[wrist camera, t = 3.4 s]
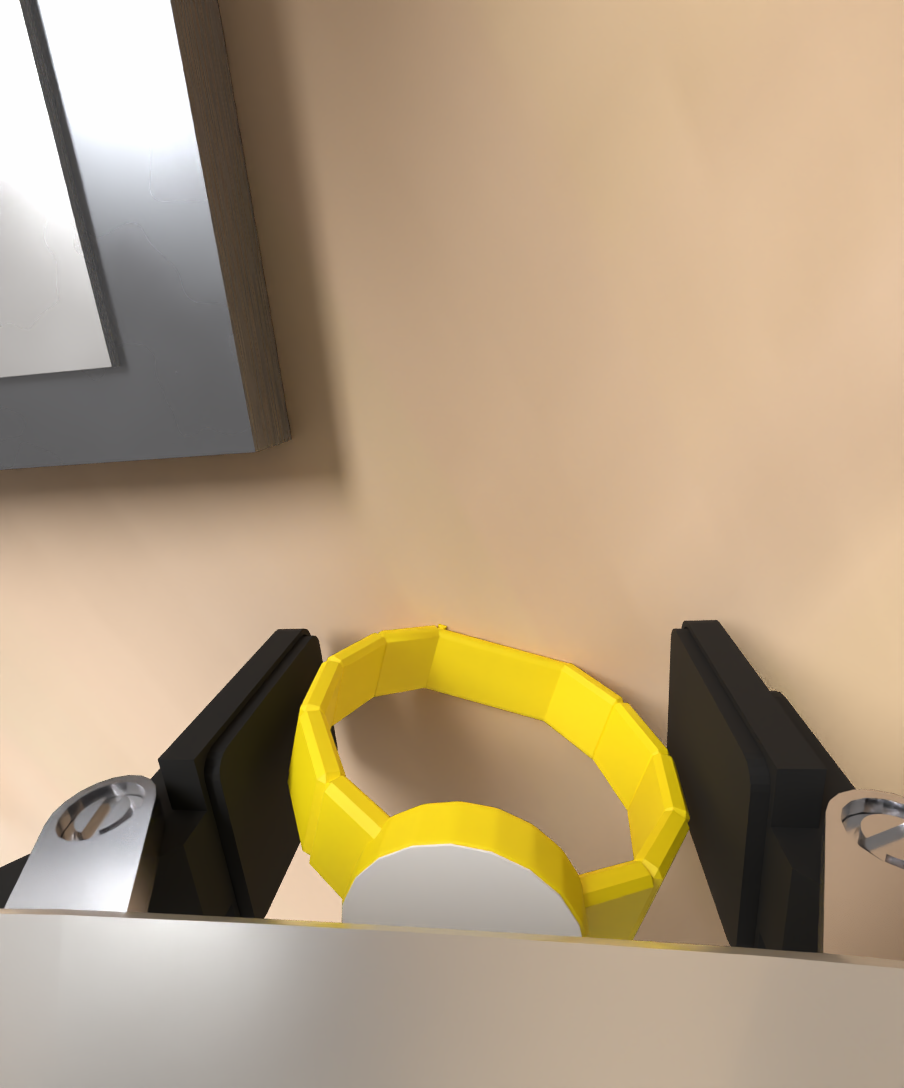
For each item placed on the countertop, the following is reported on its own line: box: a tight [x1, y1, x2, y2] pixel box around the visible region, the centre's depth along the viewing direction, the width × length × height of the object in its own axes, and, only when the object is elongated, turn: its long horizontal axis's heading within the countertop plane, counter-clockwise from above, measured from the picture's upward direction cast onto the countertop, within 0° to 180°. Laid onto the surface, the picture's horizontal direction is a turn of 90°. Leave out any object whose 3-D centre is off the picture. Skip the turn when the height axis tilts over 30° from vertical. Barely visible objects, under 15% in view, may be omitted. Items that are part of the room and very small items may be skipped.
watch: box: [288, 624, 690, 940], centre depth 9 cm, size 6×3×6 cm, turn 76°
